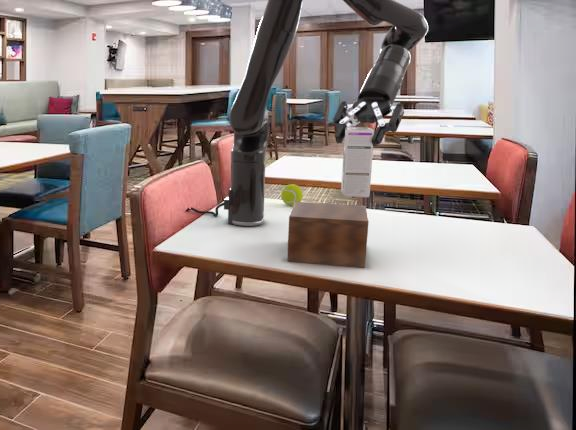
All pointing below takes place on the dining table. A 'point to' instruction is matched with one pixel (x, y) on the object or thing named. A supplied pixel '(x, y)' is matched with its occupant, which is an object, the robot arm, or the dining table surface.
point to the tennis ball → (291, 194)
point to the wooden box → (328, 234)
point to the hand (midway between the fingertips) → (355, 142)
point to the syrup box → (357, 162)
